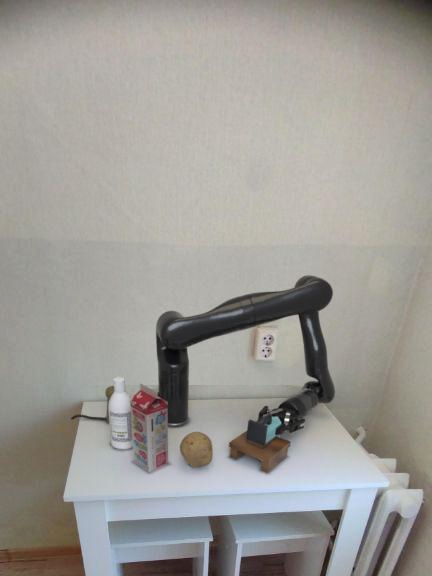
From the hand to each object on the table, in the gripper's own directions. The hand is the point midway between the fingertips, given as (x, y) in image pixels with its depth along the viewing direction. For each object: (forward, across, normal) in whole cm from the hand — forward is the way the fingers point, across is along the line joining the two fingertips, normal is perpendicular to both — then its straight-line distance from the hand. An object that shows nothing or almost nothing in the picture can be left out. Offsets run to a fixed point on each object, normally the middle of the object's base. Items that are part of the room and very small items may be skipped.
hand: (267, 428), depth 130 cm
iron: (0, 0, +3) cm, 3 cm away
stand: (+3, 0, +8) cm, 9 cm away
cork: (+14, -46, +8) cm, 49 cm away
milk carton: (+25, -21, +8) cm, 34 cm away
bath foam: (+23, -34, +8) cm, 42 cm away
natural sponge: (+18, -11, +8) cm, 23 cm away
